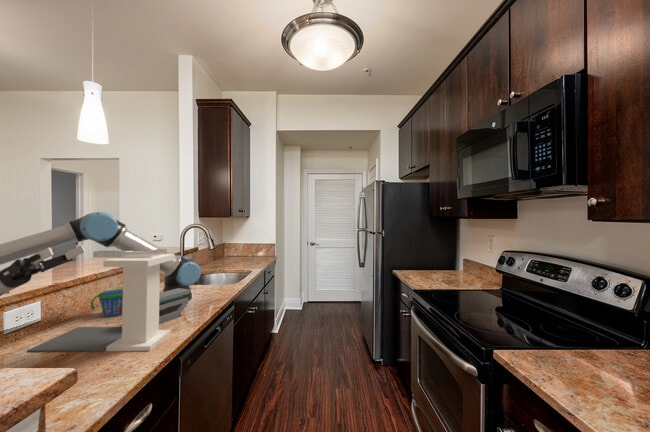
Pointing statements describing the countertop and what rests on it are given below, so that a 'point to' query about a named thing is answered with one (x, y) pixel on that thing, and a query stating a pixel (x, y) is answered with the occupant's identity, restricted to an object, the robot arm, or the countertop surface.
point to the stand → (140, 303)
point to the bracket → (130, 254)
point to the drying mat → (81, 340)
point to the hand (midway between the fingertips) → (68, 249)
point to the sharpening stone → (172, 304)
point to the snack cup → (110, 302)
